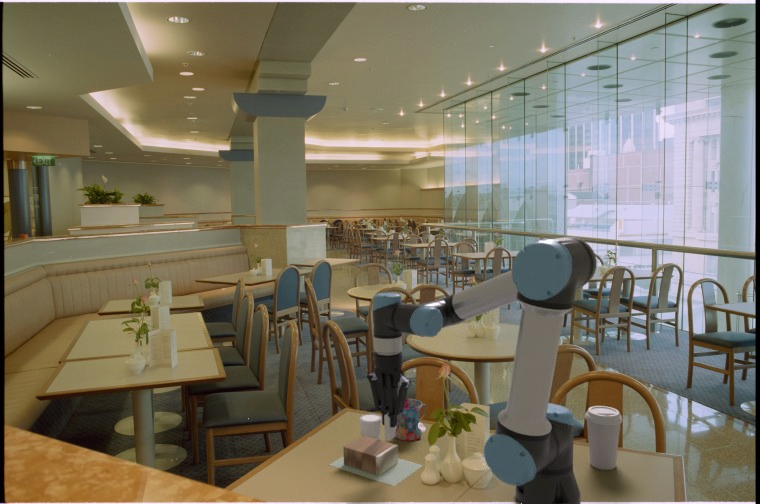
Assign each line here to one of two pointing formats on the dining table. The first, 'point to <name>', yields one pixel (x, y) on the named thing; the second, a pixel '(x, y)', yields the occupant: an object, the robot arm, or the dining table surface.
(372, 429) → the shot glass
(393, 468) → the rubber mat
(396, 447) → the walnut block
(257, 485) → the dining table surface
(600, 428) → the coffee cup
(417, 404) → the mug
